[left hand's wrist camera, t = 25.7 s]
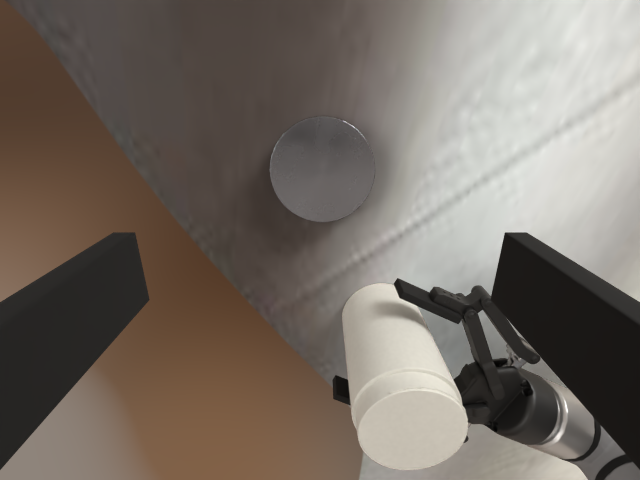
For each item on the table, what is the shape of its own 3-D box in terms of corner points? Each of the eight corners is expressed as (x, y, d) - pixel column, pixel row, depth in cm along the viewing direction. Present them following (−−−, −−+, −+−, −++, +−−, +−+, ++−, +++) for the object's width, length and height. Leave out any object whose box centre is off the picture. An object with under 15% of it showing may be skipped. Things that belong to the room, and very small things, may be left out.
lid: (256, 189, 36) (253, 193, 34) (300, 96, 32) (298, 95, 30) (341, 231, 37) (342, 238, 35) (390, 147, 34) (395, 149, 32)
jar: (425, 335, 42) (481, 458, 27) (354, 355, 43) (372, 483, 28) (407, 273, 39) (459, 373, 24) (332, 295, 40) (338, 405, 25)
